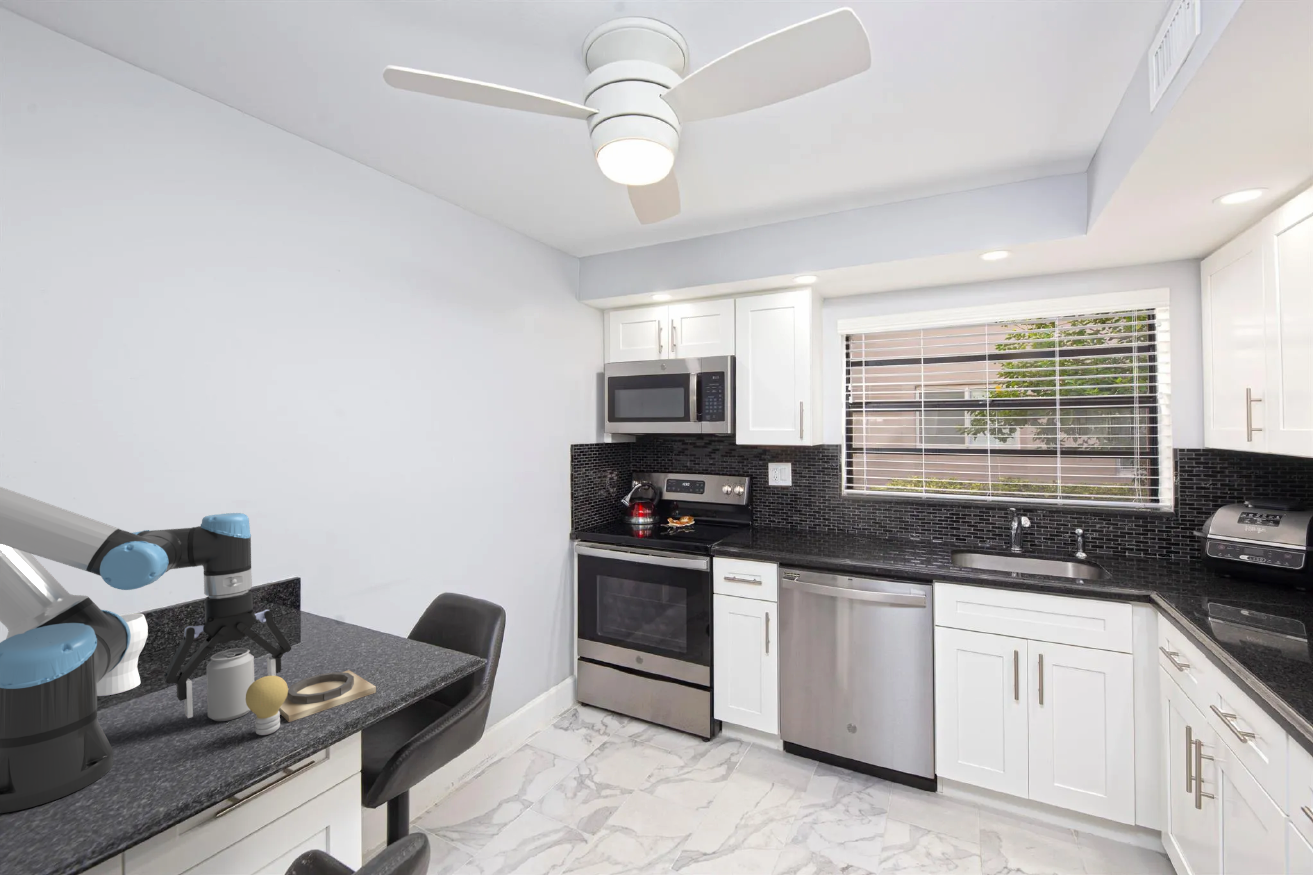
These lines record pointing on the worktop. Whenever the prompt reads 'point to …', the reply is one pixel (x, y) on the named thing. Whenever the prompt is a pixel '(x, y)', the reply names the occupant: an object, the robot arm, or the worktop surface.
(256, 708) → the light bulb
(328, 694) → the board
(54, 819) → the worktop surface
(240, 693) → the can
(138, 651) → the cup
